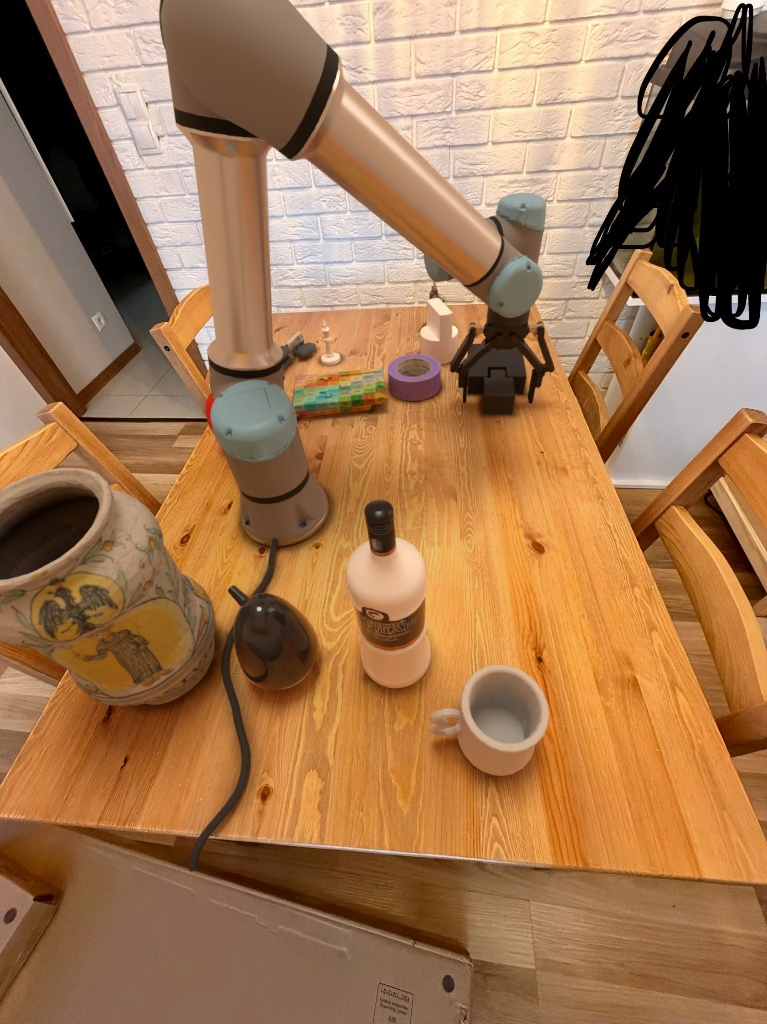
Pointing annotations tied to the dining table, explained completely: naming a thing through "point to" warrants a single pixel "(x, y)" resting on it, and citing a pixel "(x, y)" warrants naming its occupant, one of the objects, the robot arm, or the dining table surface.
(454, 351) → the cylinder with rectangular tab
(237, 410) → the robot arm
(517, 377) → the notch pad
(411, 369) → the tape roll
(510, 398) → the pad
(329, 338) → the chess piece
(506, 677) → the mug
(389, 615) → the vodka
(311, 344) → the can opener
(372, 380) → the puzzle game
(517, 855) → the dining table surface
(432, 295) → the figurine
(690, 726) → the dining table surface
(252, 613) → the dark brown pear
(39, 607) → the vase
